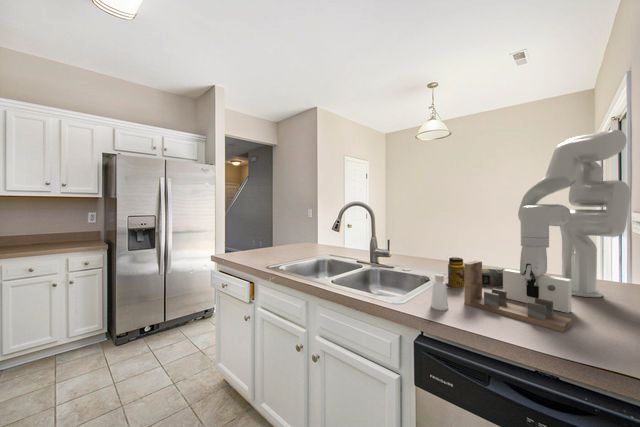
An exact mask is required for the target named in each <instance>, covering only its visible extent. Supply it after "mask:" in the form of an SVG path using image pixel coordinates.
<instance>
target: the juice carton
mask: <svg viewBox="0 0 640 427" xmlns="http://www.w3.org/2000/svg"><path fill="white" fill-rule="evenodd" d="M505 269H506V268H505ZM505 269H504V268H503V269H497V268H496V269H493V268H482V286H484V287H486V286H487V287H498V286H501V287H502V288H503V270H505Z"/></svg>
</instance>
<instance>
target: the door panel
mask: <svg viewBox="0 0 640 427" xmlns="http://www.w3.org/2000/svg"><path fill="white" fill-rule="evenodd" d="M502 270H503V269H502ZM525 274H526V273H525ZM531 276H534V275H533V274H531ZM532 279H534V278H532ZM537 286H539V299H543V300H548V301H552V302H553V311H558V312H562V313H567V314H570V313H571V312H572V295H571V279H566V278H562V277H559V276H552V275H547V274H544V275H541V276H539V277H538V282H537ZM502 290H503V291H507V300H508V299H509V300H513V301H517V302H521V303H523V304H528V302H533V303H535V298H533V297H529V296H527V285H526V280H525V275H521V274H520V270H516V269H510V268H509V269H508V268H505V270H503V287H502Z"/></svg>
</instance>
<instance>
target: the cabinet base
mask: <svg viewBox="0 0 640 427" xmlns="http://www.w3.org/2000/svg"><path fill="white" fill-rule="evenodd" d="M463 265H464V295H463V296H464V298H463V299H464V301H463V302H464V305H468V306H472V307H475V308H478V309H481V310H485V311H488V312H491V313H494V314H498V315H502V316H506V317H509V318H512V319H516V320H519V321H522V322H527V323H529V324H532V325H537V326H540V327H543V328H546V329H550V330H554V331H557V332H560V333H564V332H565V331H567V330H568V329H569V328H571V326H572V325H573V319H572V318H568V317H565V316H561V315H557V314H554V309H553V302H552V301H548V300H543V299H539V298H535V303H533V302H528V303H527V307H525V306H521V305H517V304H514V303H511V302H507V300H508V298H507V291H503V289H500V288H499V289H497V288H495V287H493V288H491V292H490V291H483V285H482V269H483V261H481V260H473V261H469V262H466V263H464V262H463Z"/></svg>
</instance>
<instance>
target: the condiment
mask: <svg viewBox="0 0 640 427" xmlns="http://www.w3.org/2000/svg"><path fill="white" fill-rule="evenodd" d="M448 260H449V261H448V264H447V282H444V283H445V284H446V289H454V290H464V259H463V258H461V257H455V256H454V257H453V256H452V257H449V259H448Z"/></svg>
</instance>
